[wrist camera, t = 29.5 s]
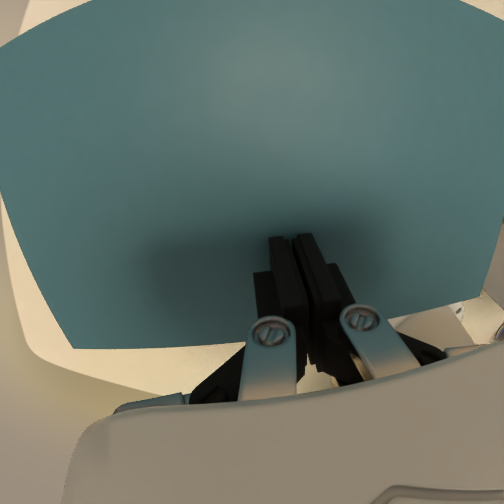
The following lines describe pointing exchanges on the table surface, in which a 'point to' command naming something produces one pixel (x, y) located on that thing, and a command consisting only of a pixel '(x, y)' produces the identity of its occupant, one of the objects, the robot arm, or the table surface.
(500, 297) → the plastic bottle
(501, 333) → the pill bottle
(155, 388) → the table surface
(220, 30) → the cool box lid
